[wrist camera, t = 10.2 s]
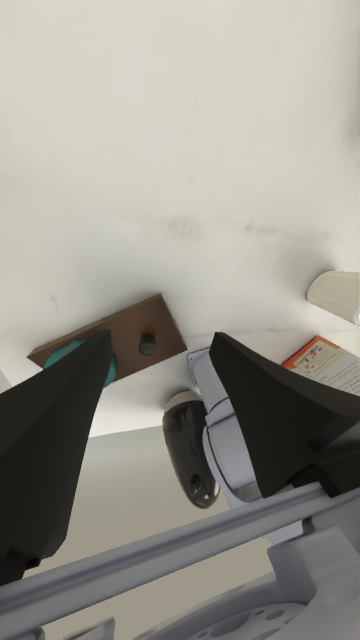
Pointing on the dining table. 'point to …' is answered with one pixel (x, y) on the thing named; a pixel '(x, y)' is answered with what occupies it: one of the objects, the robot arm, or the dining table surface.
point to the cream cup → (337, 294)
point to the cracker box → (327, 365)
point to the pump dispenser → (189, 448)
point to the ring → (68, 348)
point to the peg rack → (129, 337)
